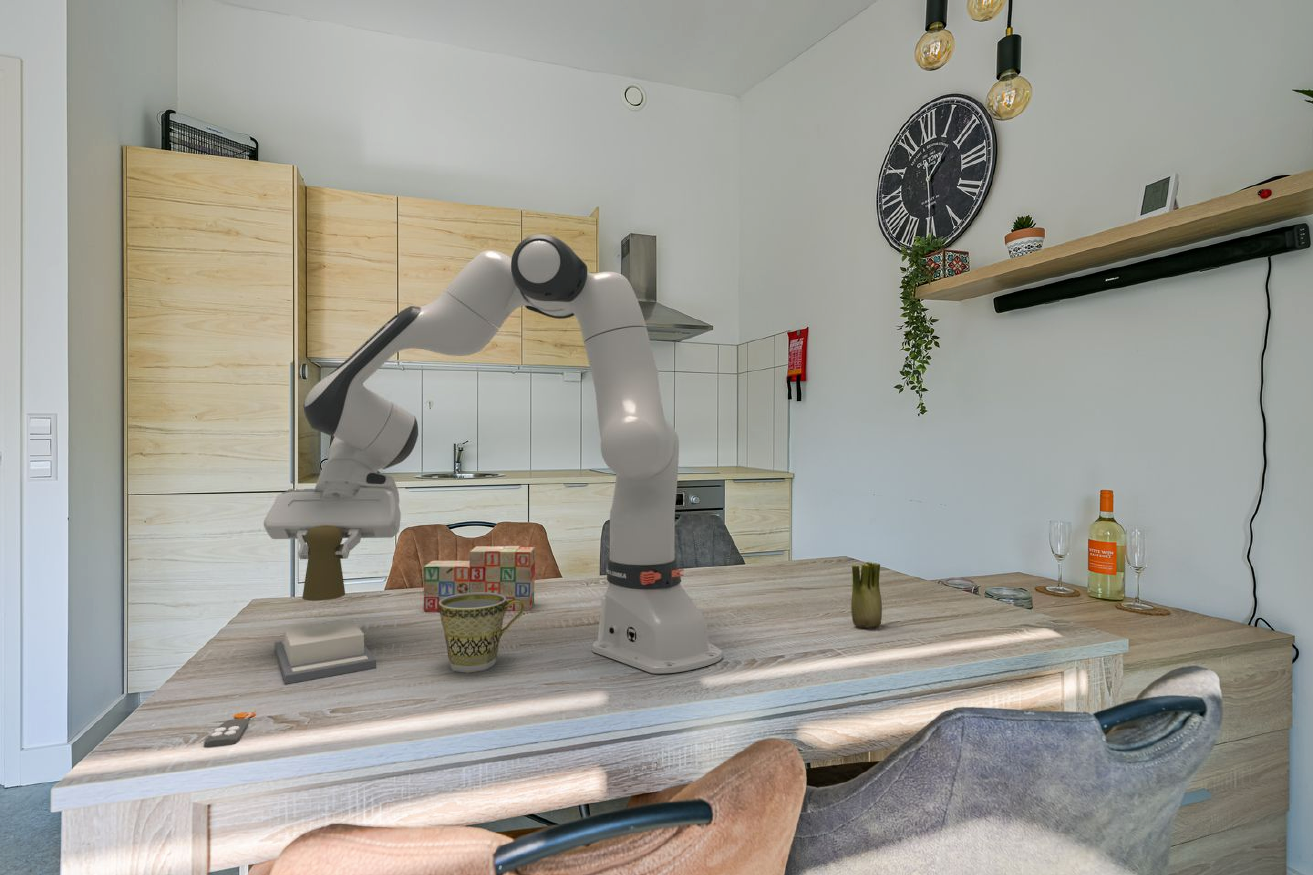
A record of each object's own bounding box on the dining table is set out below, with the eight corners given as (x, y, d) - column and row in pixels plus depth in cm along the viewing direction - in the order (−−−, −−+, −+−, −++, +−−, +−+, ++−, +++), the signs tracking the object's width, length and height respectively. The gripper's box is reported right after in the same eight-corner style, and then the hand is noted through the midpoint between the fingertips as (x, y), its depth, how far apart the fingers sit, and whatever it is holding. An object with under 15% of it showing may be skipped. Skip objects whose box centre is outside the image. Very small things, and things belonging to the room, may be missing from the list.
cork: (312, 591, 106) (313, 523, 106) (351, 591, 106) (351, 523, 106) (294, 600, 100) (295, 528, 100) (335, 600, 100) (336, 528, 100)
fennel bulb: (851, 629, 120) (852, 564, 120) (848, 622, 124) (848, 559, 124) (885, 631, 119) (885, 565, 119) (880, 623, 123) (880, 560, 123)
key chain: (239, 748, 74) (239, 735, 74) (201, 752, 73) (201, 739, 73) (272, 703, 87) (272, 692, 87) (240, 706, 86) (240, 695, 86)
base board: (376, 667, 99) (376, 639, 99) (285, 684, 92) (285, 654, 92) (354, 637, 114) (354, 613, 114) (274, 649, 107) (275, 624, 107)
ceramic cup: (444, 681, 93) (444, 611, 93) (433, 660, 102) (433, 596, 102) (533, 666, 99) (533, 601, 99) (515, 648, 108) (515, 587, 108)
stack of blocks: (422, 612, 130) (422, 551, 130) (432, 604, 137) (432, 545, 137) (530, 612, 131) (530, 550, 131) (535, 604, 137) (535, 545, 137)
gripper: (274, 477, 108) (244, 546, 99) (402, 477, 111) (386, 544, 101) (285, 501, 113) (258, 569, 103) (408, 500, 115) (393, 567, 106)
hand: (322, 557), depth 102 cm, fingers closed on cork, 4 cm apart
